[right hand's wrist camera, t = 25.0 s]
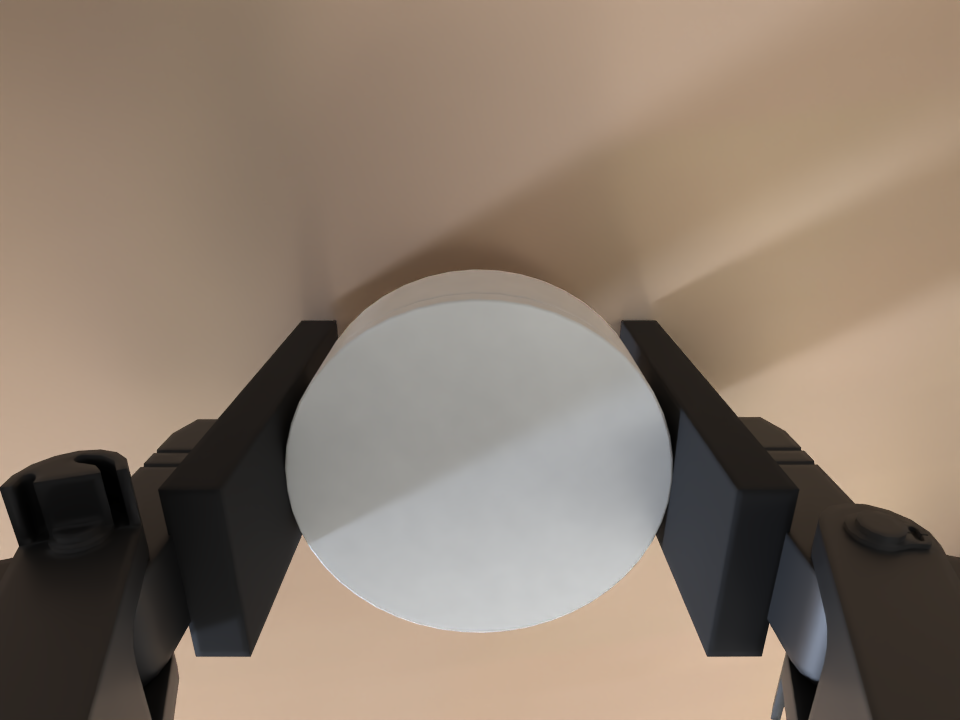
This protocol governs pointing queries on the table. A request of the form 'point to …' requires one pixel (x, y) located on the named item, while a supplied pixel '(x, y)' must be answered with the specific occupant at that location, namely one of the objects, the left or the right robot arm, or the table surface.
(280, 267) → the table surface
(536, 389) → the lid
